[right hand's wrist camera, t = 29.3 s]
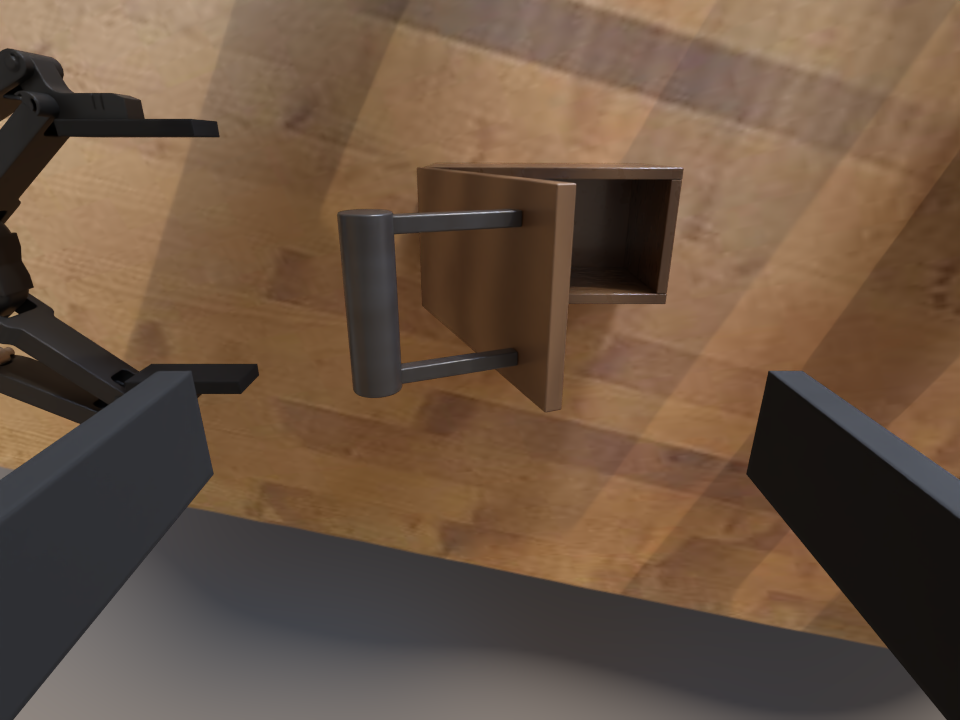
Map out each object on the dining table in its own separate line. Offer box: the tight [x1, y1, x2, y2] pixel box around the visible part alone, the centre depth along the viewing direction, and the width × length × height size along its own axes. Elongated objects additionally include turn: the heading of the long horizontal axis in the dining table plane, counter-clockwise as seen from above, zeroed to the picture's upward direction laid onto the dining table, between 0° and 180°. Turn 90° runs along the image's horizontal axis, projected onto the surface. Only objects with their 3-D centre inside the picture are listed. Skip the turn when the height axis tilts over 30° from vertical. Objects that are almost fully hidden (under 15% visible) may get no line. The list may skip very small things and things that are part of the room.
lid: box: [337, 167, 576, 412], centre depth 28 cm, size 18×9×8 cm
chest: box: [426, 163, 683, 304], centre depth 42 cm, size 17×9×10 cm, turn 90°
